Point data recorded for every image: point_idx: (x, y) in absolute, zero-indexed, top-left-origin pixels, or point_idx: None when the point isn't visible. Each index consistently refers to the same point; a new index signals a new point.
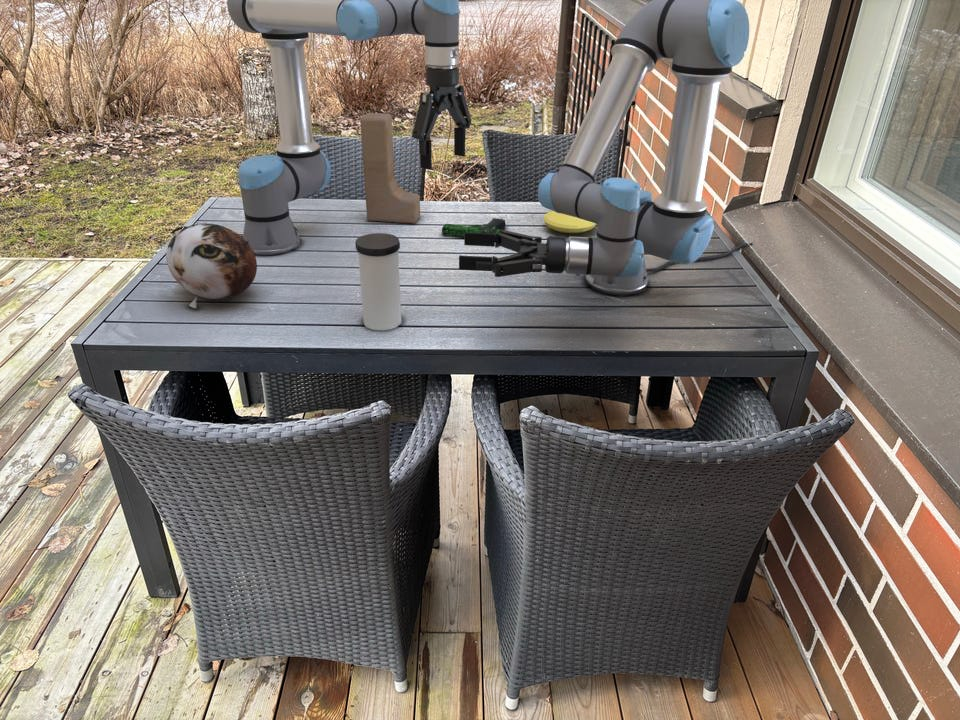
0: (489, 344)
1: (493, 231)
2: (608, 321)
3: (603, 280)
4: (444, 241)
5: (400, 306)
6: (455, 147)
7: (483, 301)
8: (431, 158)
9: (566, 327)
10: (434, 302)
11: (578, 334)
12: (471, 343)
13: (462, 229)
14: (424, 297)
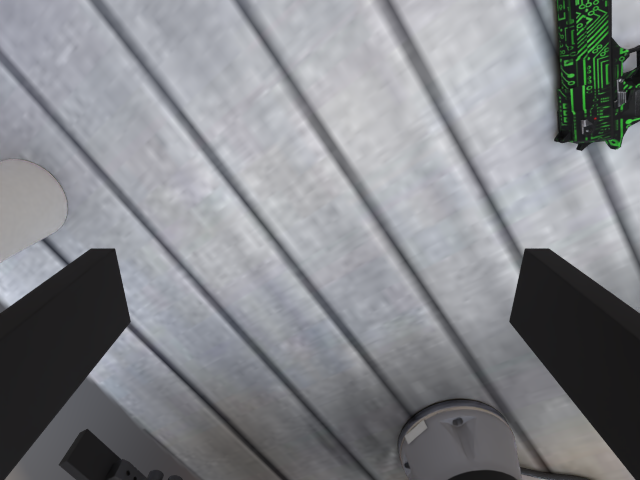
0: (120, 387)
1: (595, 140)
2: (308, 476)
3: (407, 459)
4: (508, 12)
5: (29, 246)
6: (556, 288)
7: (241, 305)
8: (89, 370)
9: (250, 444)
10: (169, 232)
11: (242, 462)
12: (100, 366)
13: (578, 41)
14: (172, 200)
